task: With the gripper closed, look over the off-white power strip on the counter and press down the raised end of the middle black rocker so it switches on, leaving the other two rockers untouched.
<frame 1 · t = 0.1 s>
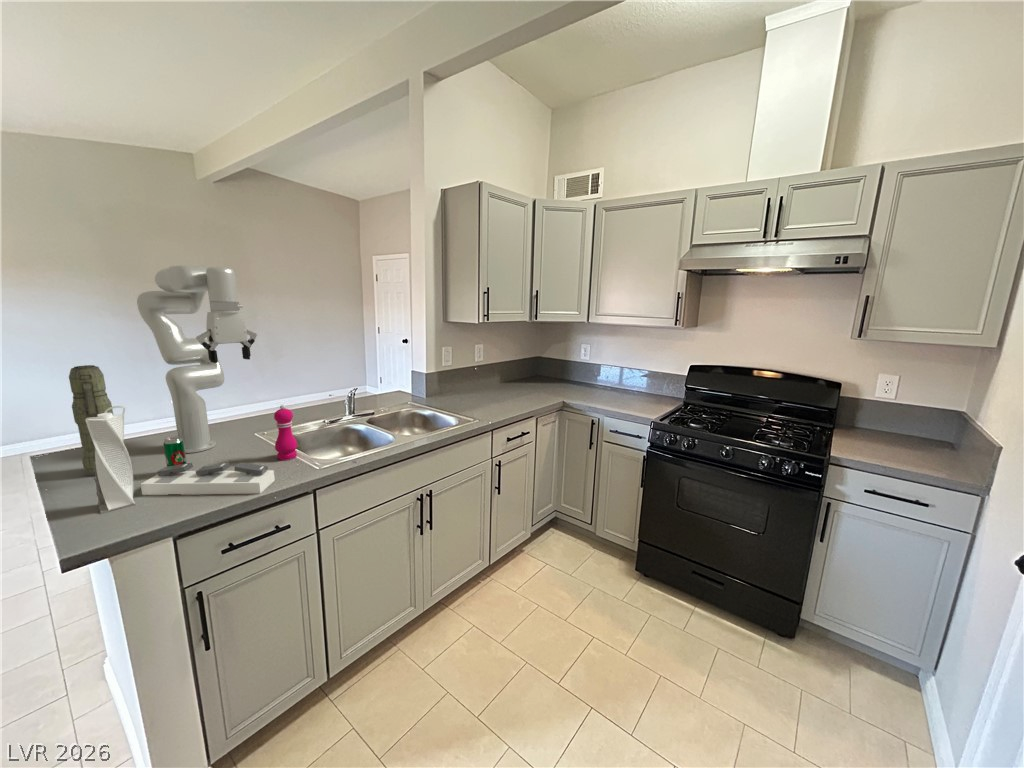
hand: (230, 360, 133), 37 cm above the countertop, tool pointing down, fingers open, 9 cm apart
rocker 1: (175, 469, 125), point 5 cm above the countertop, hinge at -10.0°
skyscraper: (121, 505, 114), on the countertop
power strip: (211, 487, 125), on the countertop
soda can: (178, 473, 134), on the countertop
middle rocker: (213, 469, 126), point 5 cm above the countertop, hinge at -10.0°
pepper mill: (287, 457, 150), on the countertop
rocker 2: (251, 469, 127), point 5 cm above the countertop, hinge at 10.0°
olive elongated piece: (104, 471, 134), on the countertop
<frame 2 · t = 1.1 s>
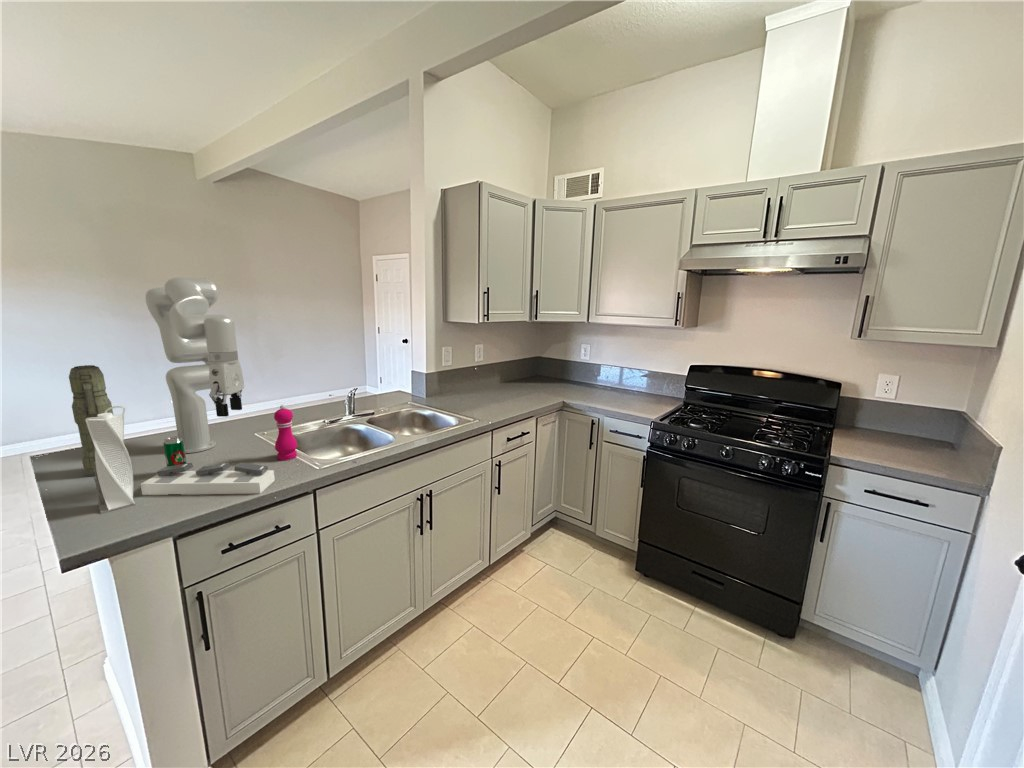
hand: (229, 412, 129), 22 cm above the countertop, tool pointing down, fingers open, 6 cm apart
nothing on the countertop moved.
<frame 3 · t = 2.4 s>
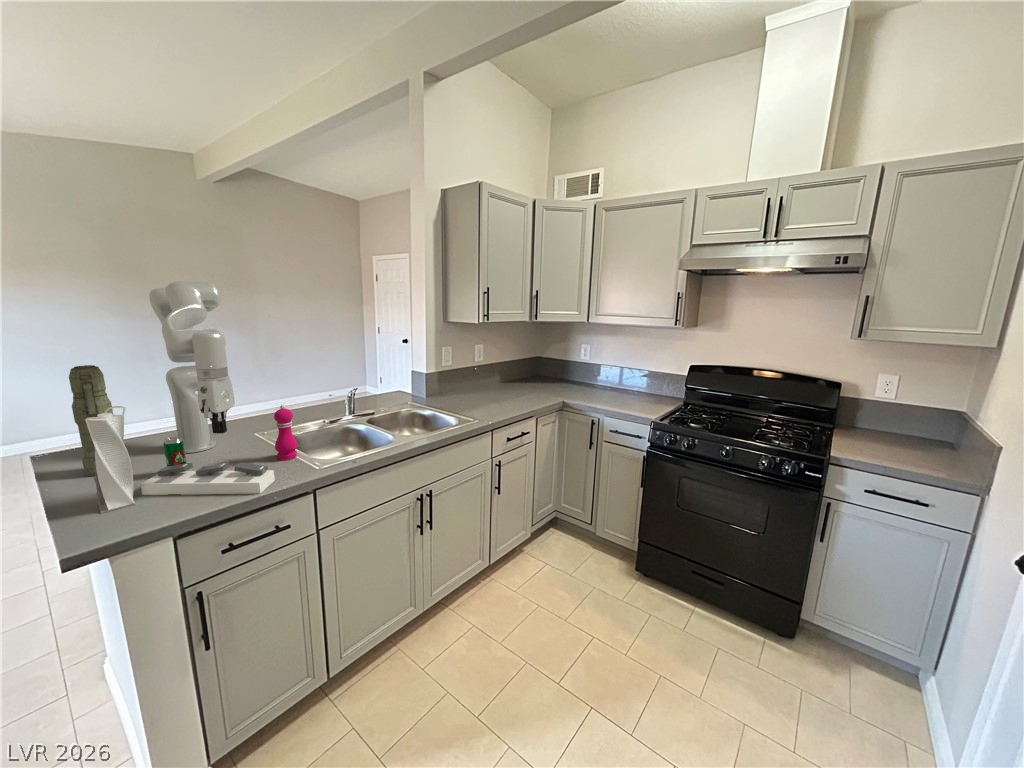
hand: (220, 432, 124), 17 cm above the countertop, tool pointing down, fingers closed
nothing on the countertop moved.
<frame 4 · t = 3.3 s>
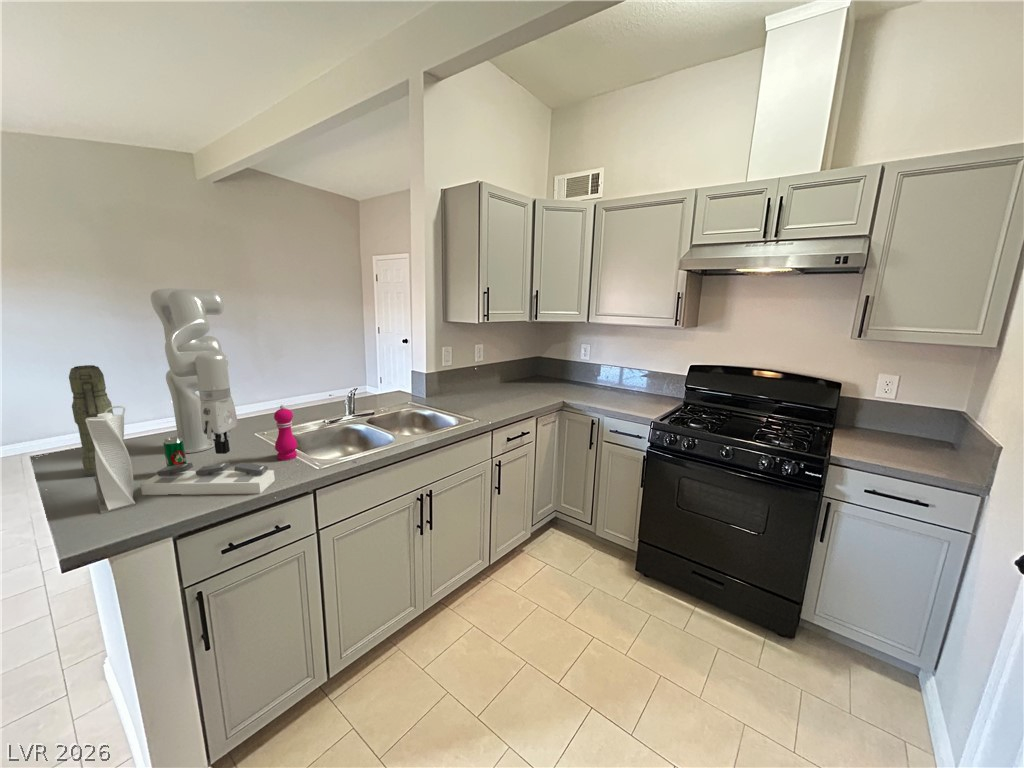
hand: (222, 452, 125), 11 cm above the countertop, tool pointing down, fingers closed
nothing on the countertop moved.
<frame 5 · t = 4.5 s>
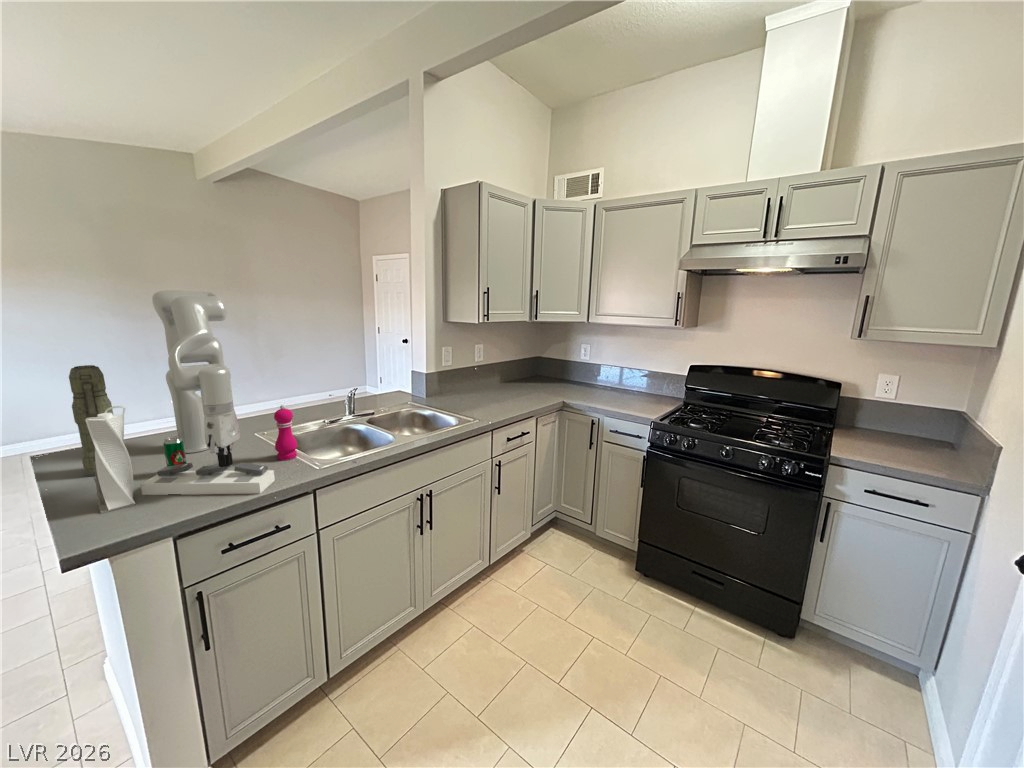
hand: (225, 465, 126), 6 cm above the countertop, tool pointing down, fingers closed
middle rocker: (213, 469, 126), point 5 cm above the countertop, hinge at -8.3°, touching gripper
everything else where it was.
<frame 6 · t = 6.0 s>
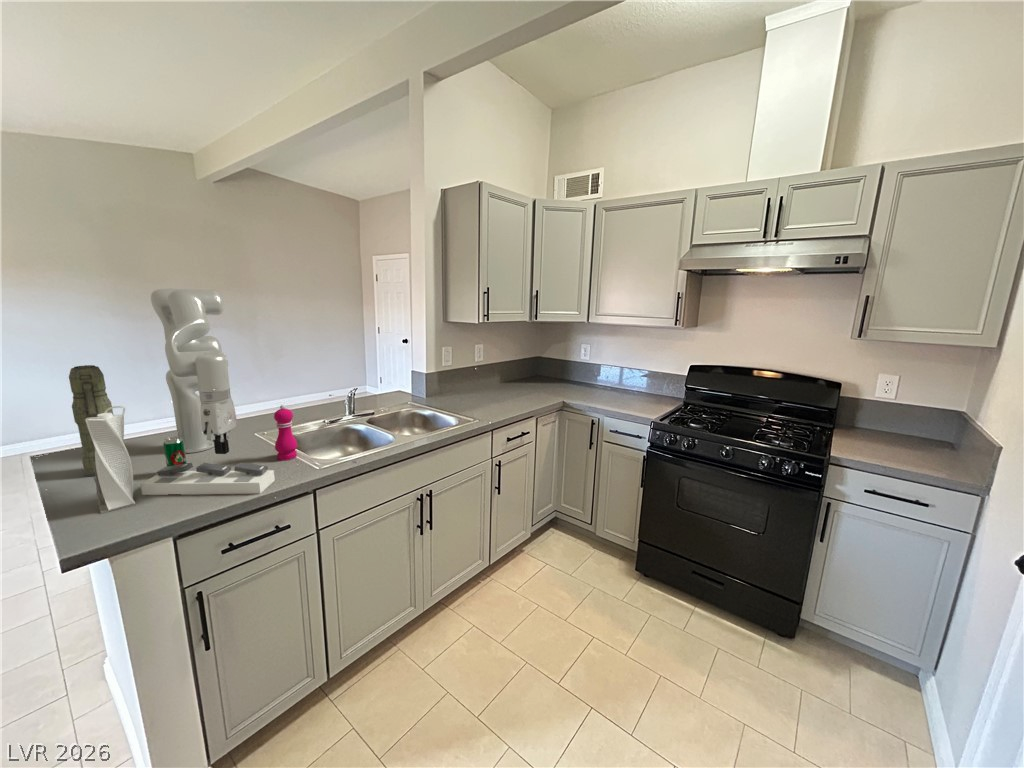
hand: (222, 452, 125), 10 cm above the countertop, tool pointing down, fingers closed
middle rocker: (214, 469, 126), point 5 cm above the countertop, hinge at 9.3°
everything else where it was.
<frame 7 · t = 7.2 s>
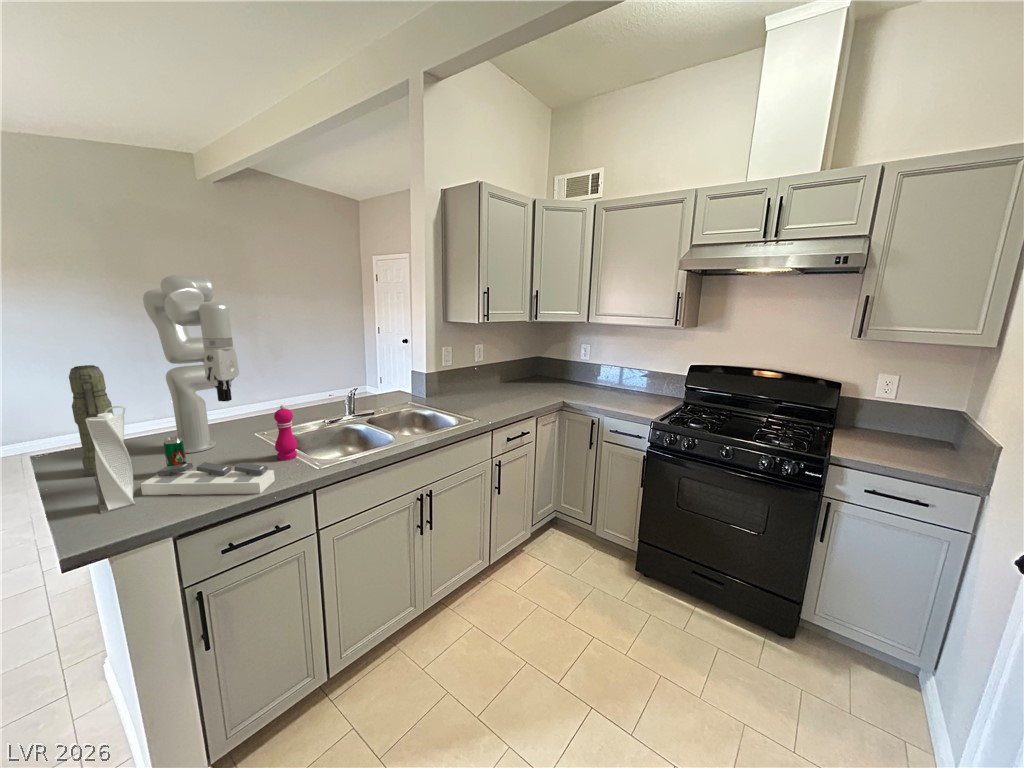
hand: (225, 400, 130), 25 cm above the countertop, tool pointing down, fingers closed
middle rocker: (214, 469, 126), point 5 cm above the countertop, hinge at 13.2°
everything else where it was.
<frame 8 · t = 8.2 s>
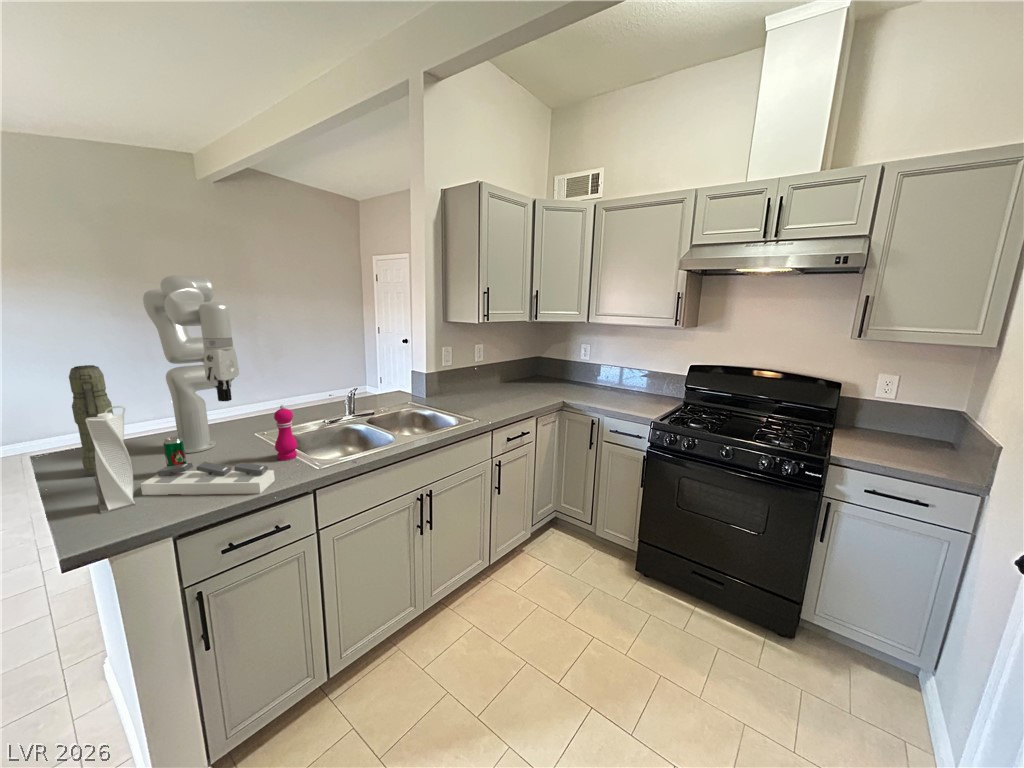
hand: (225, 400, 130), 25 cm above the countertop, tool pointing down, fingers closed
middle rocker: (214, 469, 126), point 5 cm above the countertop, hinge at 14.7°, touching power strip
everything else where it was.
at the end: middle rocker at +15° (first picture: -10°); rocker 1 at -10° (first picture: -10°); rocker 2 at +10° (first picture: +10°) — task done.
